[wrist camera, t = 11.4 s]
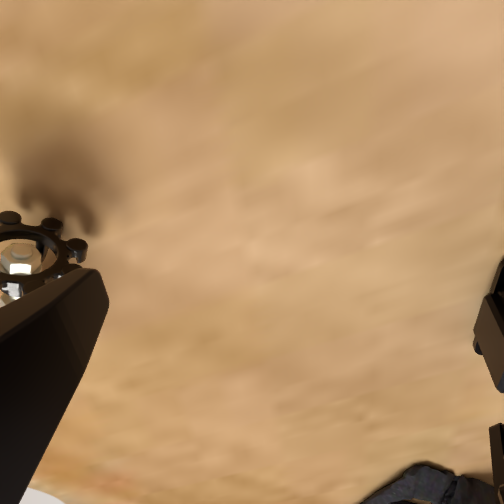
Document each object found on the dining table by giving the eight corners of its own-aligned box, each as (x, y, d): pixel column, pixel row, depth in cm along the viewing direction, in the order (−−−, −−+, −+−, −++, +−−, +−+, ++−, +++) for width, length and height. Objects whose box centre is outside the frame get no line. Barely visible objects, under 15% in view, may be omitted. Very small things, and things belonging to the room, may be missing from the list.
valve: (85, 360, 31) (111, 240, 24) (32, 442, 25) (46, 318, 18) (0, 327, 30) (2, 195, 23) (-73, 404, 25) (-98, 261, 18)
